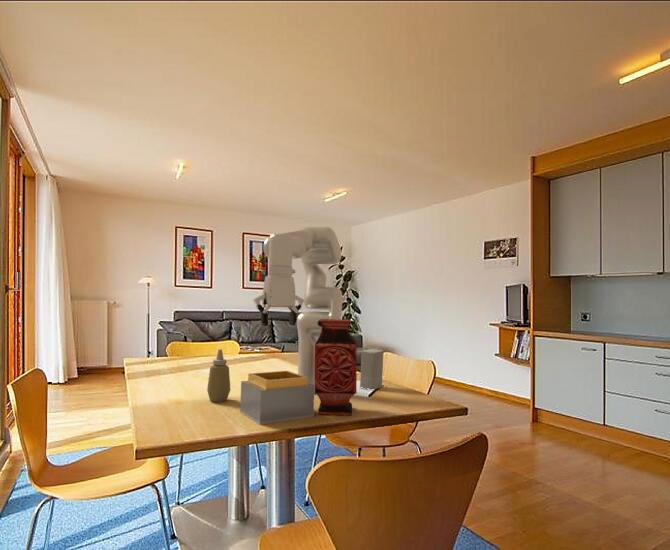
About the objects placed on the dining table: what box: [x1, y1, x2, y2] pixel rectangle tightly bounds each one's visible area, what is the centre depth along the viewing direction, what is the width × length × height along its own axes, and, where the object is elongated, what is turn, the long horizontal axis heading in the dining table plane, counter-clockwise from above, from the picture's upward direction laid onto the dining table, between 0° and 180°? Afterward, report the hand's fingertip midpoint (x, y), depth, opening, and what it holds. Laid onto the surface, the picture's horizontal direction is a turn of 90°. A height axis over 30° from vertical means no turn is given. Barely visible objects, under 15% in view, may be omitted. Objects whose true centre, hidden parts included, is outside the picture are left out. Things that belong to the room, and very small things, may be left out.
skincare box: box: [359, 348, 384, 390], centre depth 189 cm, size 8×7×16 cm
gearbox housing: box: [239, 370, 315, 425], centre depth 143 cm, size 18×16×12 cm
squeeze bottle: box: [206, 348, 231, 403], centre depth 161 cm, size 8×8×18 cm
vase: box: [314, 319, 358, 416], centre depth 150 cm, size 14×14×30 cm
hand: (278, 325), depth 145 cm, fingers open, 9 cm apart
